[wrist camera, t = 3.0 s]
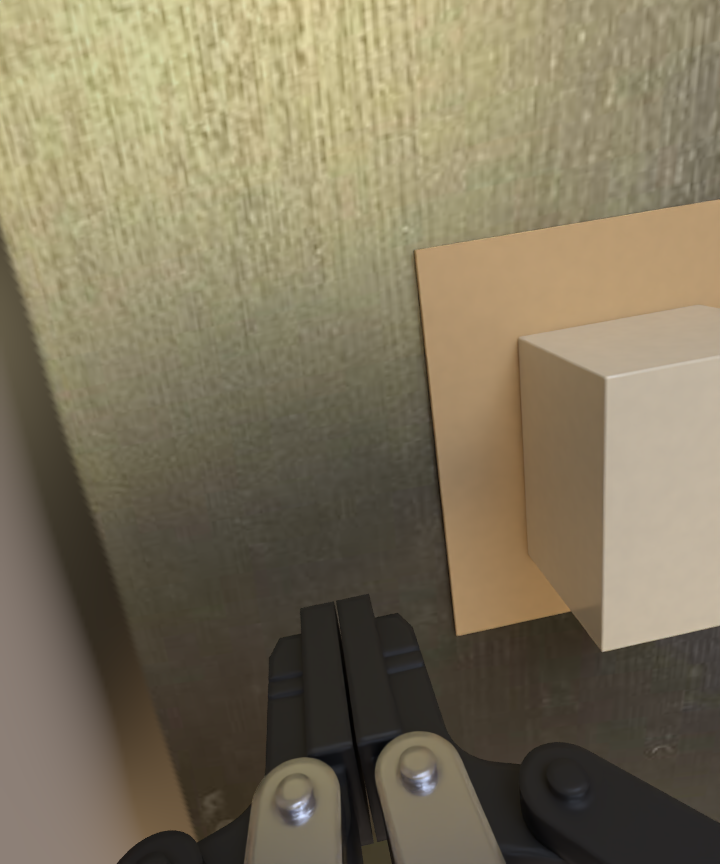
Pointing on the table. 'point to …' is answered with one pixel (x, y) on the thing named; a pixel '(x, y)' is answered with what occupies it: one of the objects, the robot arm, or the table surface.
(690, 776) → the table surface
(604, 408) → the cream cardboard carton
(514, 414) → the runner
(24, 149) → the table surface
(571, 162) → the table surface
